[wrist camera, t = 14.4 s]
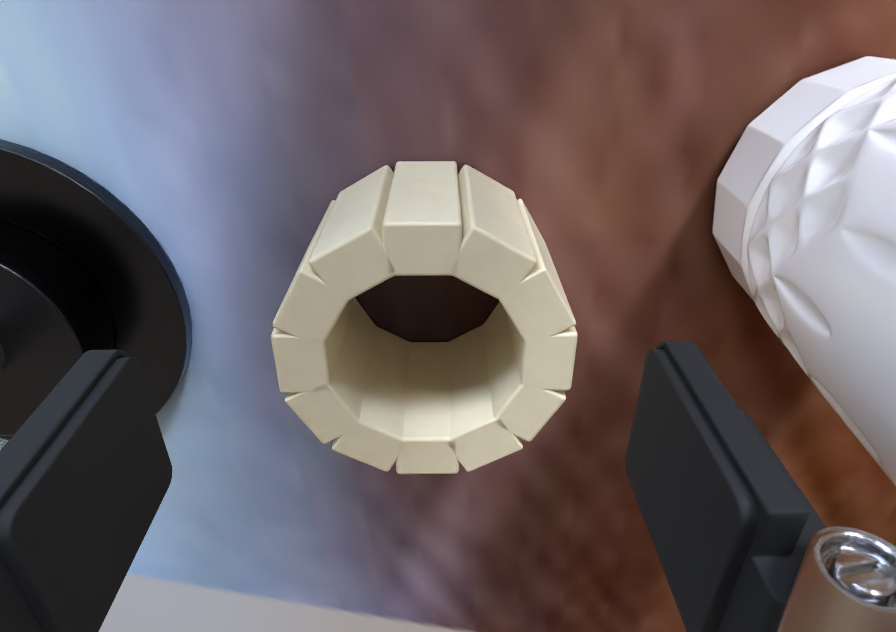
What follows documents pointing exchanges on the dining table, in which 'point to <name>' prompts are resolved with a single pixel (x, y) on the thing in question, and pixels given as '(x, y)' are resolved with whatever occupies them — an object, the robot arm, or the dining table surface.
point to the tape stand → (79, 285)
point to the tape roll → (425, 363)
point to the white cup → (824, 237)
